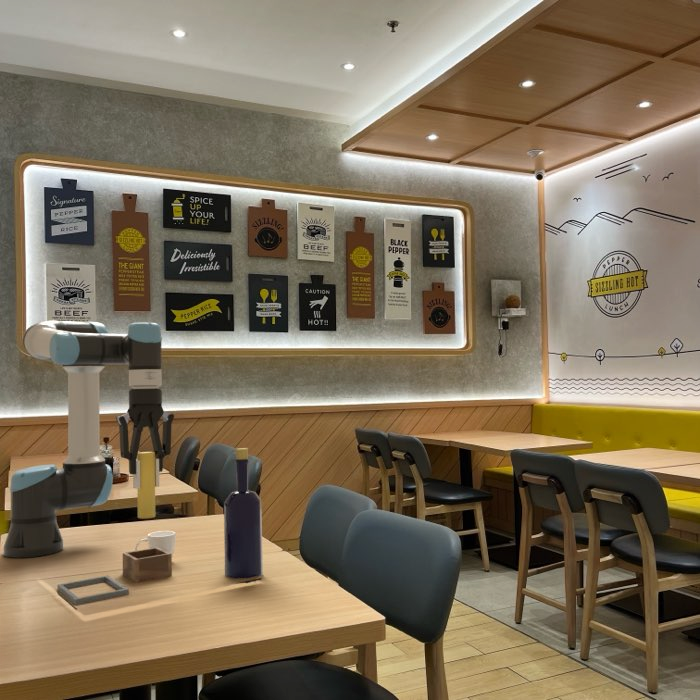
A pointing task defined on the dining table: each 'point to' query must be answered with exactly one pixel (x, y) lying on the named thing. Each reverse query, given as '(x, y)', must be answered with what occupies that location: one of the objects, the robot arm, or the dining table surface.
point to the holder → (147, 564)
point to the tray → (64, 590)
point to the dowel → (146, 485)
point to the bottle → (243, 526)
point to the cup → (161, 540)
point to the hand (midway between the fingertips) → (146, 486)
